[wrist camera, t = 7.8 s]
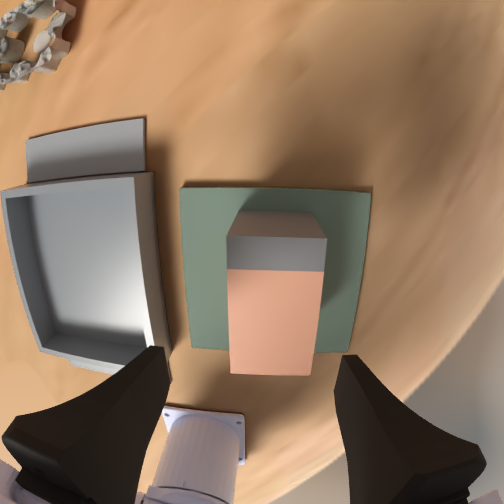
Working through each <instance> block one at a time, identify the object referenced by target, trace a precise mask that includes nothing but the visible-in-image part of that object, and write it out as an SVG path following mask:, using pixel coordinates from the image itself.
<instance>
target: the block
mask: <svg viewBox="0 0 504 504" xmlns="http://www.w3.org/2000/svg"><path fill="white" fill-rule="evenodd" d="M326 246H327V238H326V236H325V234H324V232H323V231H322V229H321V227H320V225H319V224H318V222H317V220H316V219H315V217H314V215H313V214H312V212H285V211H243V210H239V211H238V213H237V215H236V217H235V219H234V221H233V223H232V225H231V227H230V229H229V231H228V233H227V235H226V253H227V293H228V324H229V350H230V373H235V374H255V375H310V374H311V368H312V362H313V355H314V348H315V342H316V334H317V327H318V320H319V312H320V304H321V295H322V286H323V277H324V267H325V257H326Z"/></svg>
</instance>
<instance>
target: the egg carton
mask: <svg viewBox="0 0 504 504" xmlns="http://www.w3.org/2000/svg"><path fill="white" fill-rule="evenodd" d="M56 10H58V11H60V12H59V13H57V14H56V15H55V16H54V17H53V18H52V20H51V22H50V24H49V26H48V28H47V29H44V30H42V31H41V32H40V33H39V34H38V35H37V36H36V38H35V40H34V42H33V51H34V52H36V53H40V52H42V51H43V52H42V53H41V54H40V58H39V59H38V62H37V63H36V62H32V61H26V60H25V61H22V62H20V63H17V62H18V61H19V60H20V58H21V57H22V55H23V53H24V50H25V43H24V42H23V41H21V40H17V39H14V38H9V37H7V36H5V35H6V33H7V31H8V30H11V31H15V32H20V31H22V30H23V29H24V28H25V27H26V26H27V24H28V23H29V21H30V19H31V18H33V17H35V18H38V19H42V20H45V19H47V18H49V17H50V16H51V15H52V14H53V13H54V12H55V11H56ZM76 10H77V8H76V7H74V6H72V5H71V4H69V3H68V2H67V1H65V0H27V1H25V2H22V3H20V4H19V6H18V7H16V8H15V9H13V10H11V11H8V12H7V13H6V14H5V15H4V16H3V17H2V18H1V19H0V65H1V63H6V64H14V65H13V67H12V68H11V70H10V74H9V73H1V72H0V92H1V91H3V90H4V88H5V85H6V84H7V83H10V82H13V83H23V82H26V81H28V78H29V75H30V73H31V72H32V71H38V72H42V73H52V72H55V71H56V70H57V66H58V64H59V62H60V60H61V59H62V58H63V57H64V56H65V55H67V54H68V53H69V49H70V42H68V41H65V40H63V39H62V31H63V28H64V26H65V25H66V24H67V23H68V22H69V21H70V20H71V19H73V18H74V17H75V14H76ZM52 37H53V38H55V41H54V44H53V46H48V45H49V43H50V42H51V39H52ZM47 46H48V47H47ZM46 48H47V49H46ZM45 49H46V50H45Z"/></svg>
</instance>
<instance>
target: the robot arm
mask: <svg viewBox="0 0 504 504" xmlns="http://www.w3.org/2000/svg"><path fill="white" fill-rule="evenodd" d="M170 383H171V382H170V377H169V372H168V366H167V361H166V355H165V350H164V347H161V346H153V345H150V346H149V347H147V348H146V349H145V350H144V351H143V352H141V353H140V354H139V355H138V356H136V357H135V358H134V359H133V360H132V361H130V362H129V363H128V364H127V365H125V366H124V367H123V368H122V369H120V370H119V371H118V372H116V373H115V374H114V375H112V376H111V377H109V378H108V379H107V380H105V381H104V382H102V383H101V384H99V385H98V386H96V387H94V388H93V389H91V390H89V391H88V392H86V393H84V394H82V395H80V396H78V397H76V398H74V399H71V400H69V401H67V402H65V403H62V404H60V405H57V406H55V407H52V408H49V409H45V410H42V411H38V412H34V413H30V414H25V415H20V416H16V417H15V419H14V420H13V422H12V423H11V424H10V426H9V427H8V428H7V430H6V431H5V432H4V434H3V435H2V441H3V443H4V445H5V446H6V448H7V449H8V451H9V452H10V453H11V455H12V456H13V457H14V458H15V459H16V461H17V462H18V463H19V464H20V465H21V466H22V469H21V471H20V472H19V471H17V470H16V469H15V468H13V467H12V466H10V465H9V464H7V463H6V462H4V461H2V460H1V459H0V504H233V500H234V492H235V483H236V475H237V466H238V465H244V464H245V417H244V416H243V415H242V414H234V413H221V412H210V411H200V410H192V409H184V408H176V407H169V406H164V405H165V403H166V399H167V395H168V391H169V387H170ZM334 396H335V406H336V413H337V418H338V422H339V426H340V430H341V435H342V439H343V443H344V447H345V452H346V456H347V463H348V474H349V488H350V504H503V502H502V500H501V497H500V495H499V492H498V490H494V491H492V492H490V493H488V494H485V495H483V496H481V497H479V498H477V499H475V500H473V501H471V502H470V503H468V501H467V497H468V496H469V495H470V493H469V490H468V487H469V486H470V485H471V484H472V483H473V482H474V481H475V480H476V479H477V478H478V477H479V476H480V475H481V473H482V472H483V471H484V469H485V467H486V460H485V458H484V456H483V454H482V452H481V450H480V448H479V446H478V445H477V444H474V443H471V442H469V441H466V440H463V439H461V438H457V437H456V436H453V435H451V434H449V433H447V432H445V431H443V430H441V429H439V428H438V427H436V426H434V425H432V424H431V423H429V422H428V421H426V420H425V419H423V418H422V417H420V416H419V415H417V414H416V413H415V412H413V411H412V410H411V409H409V408H408V407H407V406H406V405H404V404H403V403H402V402H401V401H400V400H399V399H398V398H397V397H396V396H394V395H393V394H392V393H391V392H390V391H389V390H388V389H387V388H386V387H385V386H384V385H383V384H382V383H381V381H380V380H379V379H378V378H377V377H376V376H375V375H374V374H373V373H372V372H371V370H370V369H369V368H368V367H367V366H366V365H365V363H364V362H363V361H362V360H361V359H360V358H359V357H358V355H342V359H341V364H340V368H339V372H338V376H337V381H336V385H335V389H334ZM161 413H162V414H163V418H164V421H165V425H166V428H167V431H168V437H167V440H166V443H165V446H164V449H163V452H162V455H161V459H160V462H159V465H158V468H157V471H156V474H155V477H154V480H153V484H152V486H151V485H150V486H149V487H148V491H147V494H144V493H142V492H137V488H138V483H139V478H140V474H141V469H142V465H143V462H144V458H145V454H146V450H147V447H148V444H149V442H150V439H151V437H152V434H153V432H154V430H155V427H156V425H157V422H158V420H159V417H160V415H161ZM239 421H240V422H239ZM145 496H146V497H145Z"/></svg>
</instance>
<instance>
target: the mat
mask: <svg viewBox="0 0 504 504" xmlns="http://www.w3.org/2000/svg"><path fill="white" fill-rule="evenodd" d="M179 196H180V218H181V236H182V251H183V265H184V277H185V289H186V300H187V310H188V319H189V329H190V337H191V346H192V348H203V349H217V350H229V324H228V293H227V253H226V235H227V233H228V231H229V229H230V227H231V225H232V223H233V221H234V219H235V217H236V215H237V213H238V211H239V210H243V211H285V212H312V214H313V215H314V217H315V219H316V220H317V222H318V224H319V225H320V227H321V229H322V231H323V232H324V234H325V236H326V238H327V246H326V257H325V267H324V277H323V286H322V295H321V304H320V312H319V320H318V327H317V334H316V342H315V348H314V353H324V352H348V348H349V343H350V339H351V334H352V329H353V324H354V318H355V313H356V308H357V302H358V296H359V290H360V284H361V278H362V271H363V264H364V257H365V249H366V241H367V233H368V223H369V214H370V203H371V193H369V192H358V191H342V190H325V189H304V188H275V187H181V188H179Z"/></svg>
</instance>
